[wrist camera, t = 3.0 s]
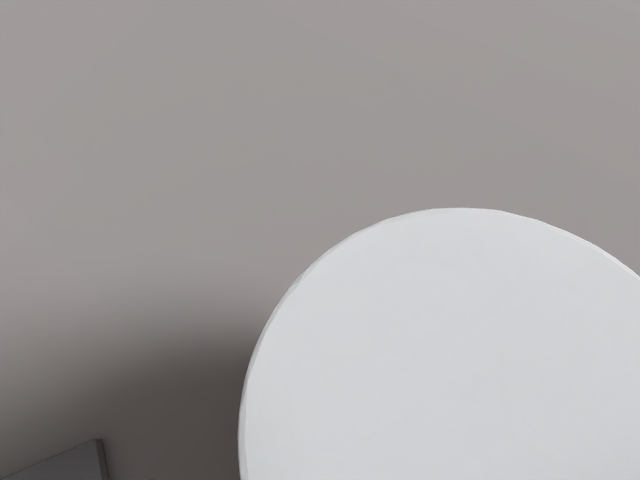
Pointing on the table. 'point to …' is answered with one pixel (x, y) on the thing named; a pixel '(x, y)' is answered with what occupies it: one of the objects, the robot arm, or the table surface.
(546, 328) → the pill bottle
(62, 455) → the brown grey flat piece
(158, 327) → the table surface
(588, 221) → the table surface
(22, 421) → the table surface
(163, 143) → the table surface
